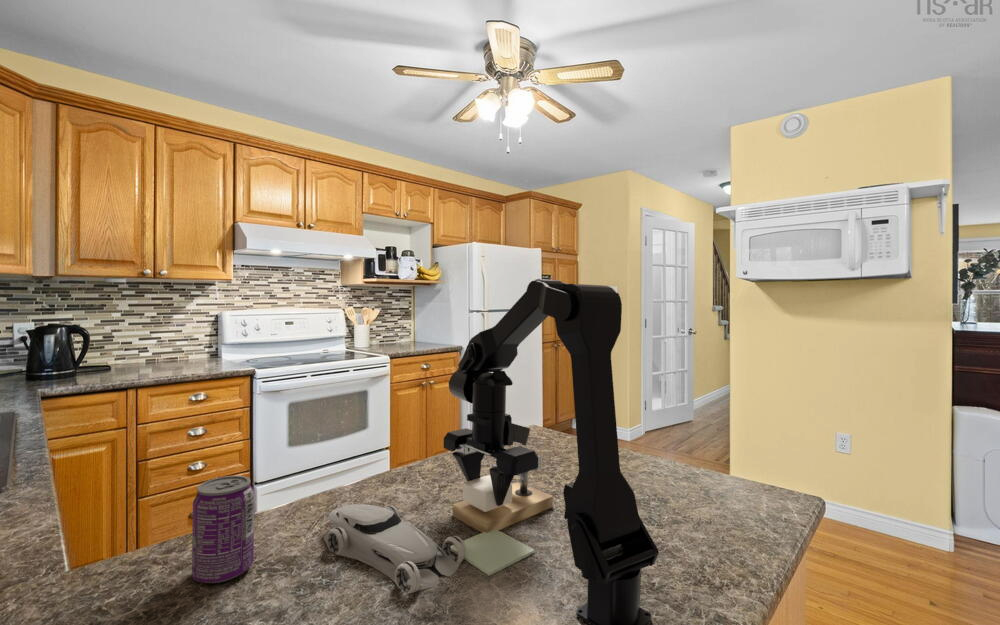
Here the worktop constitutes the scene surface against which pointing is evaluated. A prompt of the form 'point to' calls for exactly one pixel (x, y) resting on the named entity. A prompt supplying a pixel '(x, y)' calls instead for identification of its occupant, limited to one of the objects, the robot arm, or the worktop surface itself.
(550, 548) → the worktop surface
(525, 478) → the lever handle
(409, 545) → the car model
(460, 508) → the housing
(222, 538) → the beverage can
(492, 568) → the pad
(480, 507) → the cover
